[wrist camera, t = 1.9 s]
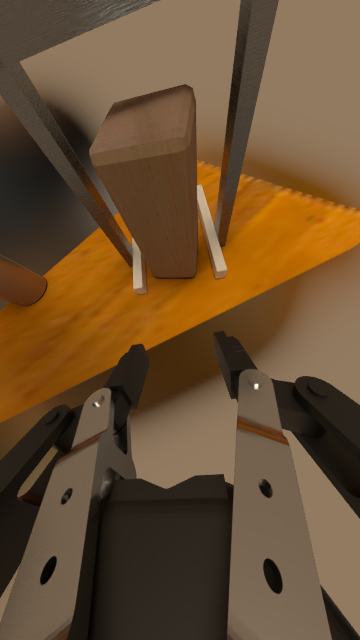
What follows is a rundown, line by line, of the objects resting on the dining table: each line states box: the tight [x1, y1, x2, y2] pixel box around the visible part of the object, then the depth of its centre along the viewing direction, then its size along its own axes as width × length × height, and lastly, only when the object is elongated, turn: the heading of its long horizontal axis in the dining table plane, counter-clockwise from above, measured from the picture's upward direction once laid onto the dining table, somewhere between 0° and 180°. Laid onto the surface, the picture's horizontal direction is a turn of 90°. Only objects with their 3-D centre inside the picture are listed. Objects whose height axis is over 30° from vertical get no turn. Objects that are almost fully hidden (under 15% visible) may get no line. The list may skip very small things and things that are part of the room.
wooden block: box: [89, 84, 198, 278], centre depth 22 cm, size 10×10×20 cm
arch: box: [0, 0, 279, 267], centre depth 20 cm, size 24×3×26 cm, turn 98°
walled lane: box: [132, 185, 227, 294], centre depth 32 cm, size 20×28×2 cm
